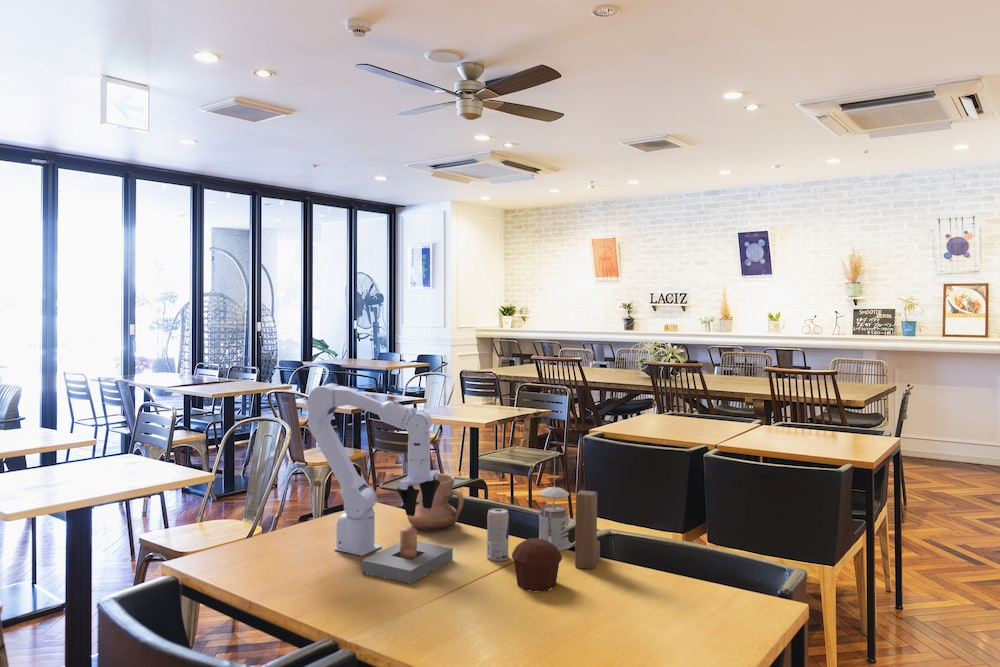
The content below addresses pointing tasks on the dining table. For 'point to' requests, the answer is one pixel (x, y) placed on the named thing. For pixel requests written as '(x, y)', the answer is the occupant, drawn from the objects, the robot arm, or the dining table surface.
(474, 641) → the dining table surface
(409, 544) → the terracotta peg
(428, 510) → the ceramic jug
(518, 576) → the muffin
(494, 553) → the energy drink
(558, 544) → the french press
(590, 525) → the wooden block
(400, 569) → the grey flat holed block
